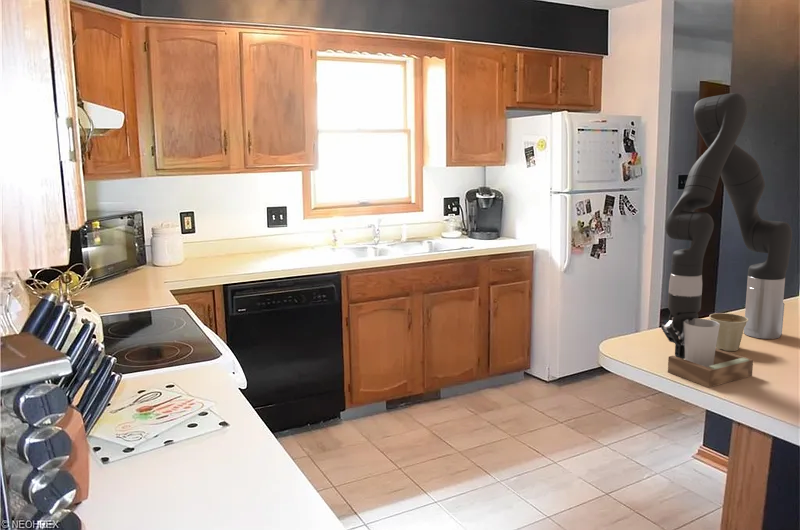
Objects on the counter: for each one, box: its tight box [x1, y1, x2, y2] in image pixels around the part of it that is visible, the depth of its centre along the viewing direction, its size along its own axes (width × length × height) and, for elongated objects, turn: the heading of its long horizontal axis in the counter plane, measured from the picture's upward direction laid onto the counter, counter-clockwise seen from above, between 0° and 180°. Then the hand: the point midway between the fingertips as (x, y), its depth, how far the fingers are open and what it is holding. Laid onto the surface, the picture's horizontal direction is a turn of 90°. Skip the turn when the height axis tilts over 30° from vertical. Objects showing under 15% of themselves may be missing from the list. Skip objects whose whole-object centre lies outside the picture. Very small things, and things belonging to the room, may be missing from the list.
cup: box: [684, 317, 720, 368], centre depth 151 cm, size 8×8×12 cm
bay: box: [667, 348, 754, 388], centre depth 148 cm, size 15×12×4 cm
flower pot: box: [708, 312, 748, 352], centre depth 167 cm, size 9×9×9 cm
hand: (680, 358), depth 156 cm, fingers closed
